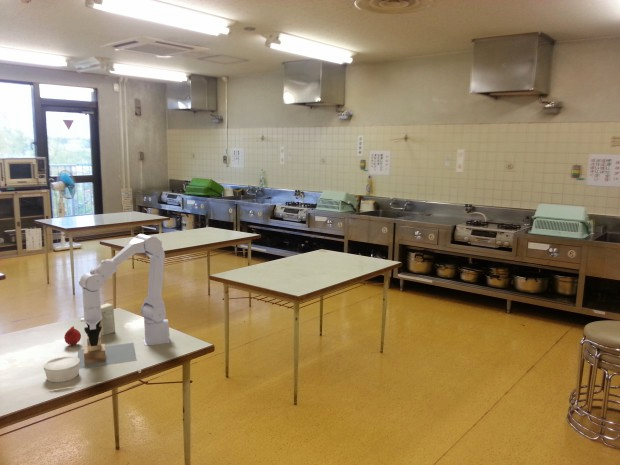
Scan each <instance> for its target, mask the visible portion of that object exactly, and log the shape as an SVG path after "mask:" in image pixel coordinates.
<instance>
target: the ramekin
mask: <svg viewBox="0 0 620 465" xmlns="http://www.w3.org/2000/svg"><path fill="white" fill-rule="evenodd" d="M79 365H80V359H79V358H78V356H77V357H76V356H62V357H57V358H56V357H55V358H53V359H50V360H48V361H46V362H45V363H44V365H43V371H44V372H45V373H44V374H45V376H46V379H47V381H49V382H50V383H64V382H68V381H71V380H73V379H75V378H77V376H78V375H79V374H80V373H79V372H80V369H79Z"/></svg>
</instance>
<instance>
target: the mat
mask: <svg viewBox="0 0 620 465" xmlns="http://www.w3.org/2000/svg"><path fill="white" fill-rule="evenodd" d="M77 358H79V359H80V365H79V370H80V369H87V368H96V367H100V366H108V365H116V364H122V363H128V362H135V361H137V360H138V359H137V355H136V350H135V344H134V342H130V343H119V344H113V345H105V358H106V361H102V362H95V363H88V364H85V363H84V348H83V349H78V350H77Z"/></svg>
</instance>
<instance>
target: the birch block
mask: <svg viewBox="0 0 620 465" xmlns="http://www.w3.org/2000/svg"><path fill="white" fill-rule="evenodd" d="M86 343H87V344H86V346H87V348H88V352H89V351H97V350H101V344H102V335H101V333H99V338H98V344H97V346H91V345H90V341H89V338H88V335H87V334H86Z"/></svg>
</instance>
